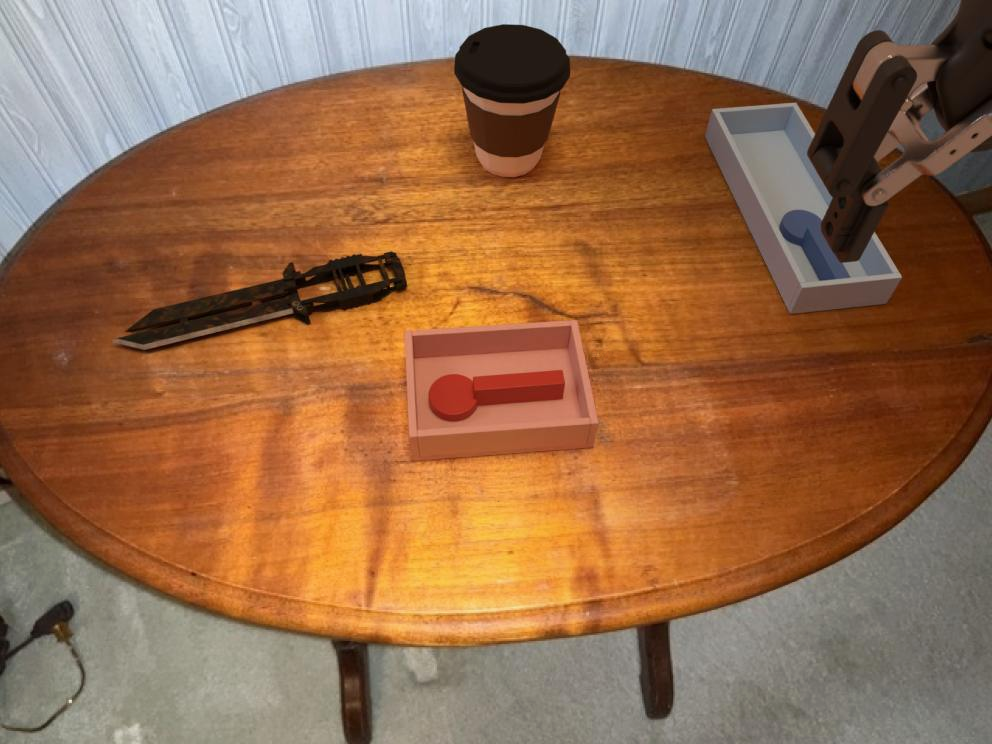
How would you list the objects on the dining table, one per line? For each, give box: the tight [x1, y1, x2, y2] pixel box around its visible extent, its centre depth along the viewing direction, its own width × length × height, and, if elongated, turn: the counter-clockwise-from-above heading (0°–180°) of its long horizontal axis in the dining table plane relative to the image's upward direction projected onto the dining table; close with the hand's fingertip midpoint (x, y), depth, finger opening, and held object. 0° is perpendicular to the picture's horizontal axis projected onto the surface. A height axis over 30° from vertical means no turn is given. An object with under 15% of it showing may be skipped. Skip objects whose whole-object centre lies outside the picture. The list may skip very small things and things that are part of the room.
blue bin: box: [704, 102, 903, 315], centre depth 79 cm, size 25×9×4 cm, turn 9°
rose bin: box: [404, 319, 600, 462], centre depth 65 cm, size 14×10×4 cm
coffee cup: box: [453, 23, 571, 178], centre depth 80 cm, size 11×11×12 cm
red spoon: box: [429, 370, 565, 421], centre depth 65 cm, size 11×4×2 cm, turn 96°
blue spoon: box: [779, 210, 851, 281], centre depth 76 cm, size 11×4×2 cm, turn 9°
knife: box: [111, 251, 408, 351], centre depth 72 cm, size 25×6×1 cm, turn 105°
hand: (925, 241), depth 39 cm, fingers open, 8 cm apart
